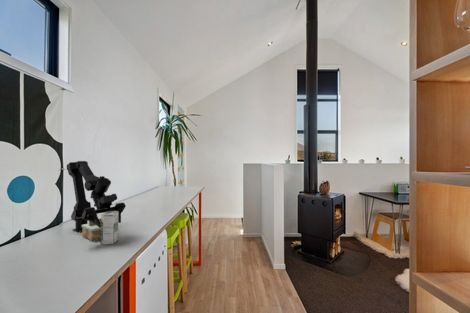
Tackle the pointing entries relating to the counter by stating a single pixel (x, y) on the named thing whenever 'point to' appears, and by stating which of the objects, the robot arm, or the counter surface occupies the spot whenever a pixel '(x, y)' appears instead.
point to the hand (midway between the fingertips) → (110, 224)
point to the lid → (91, 226)
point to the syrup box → (109, 227)
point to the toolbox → (91, 234)
